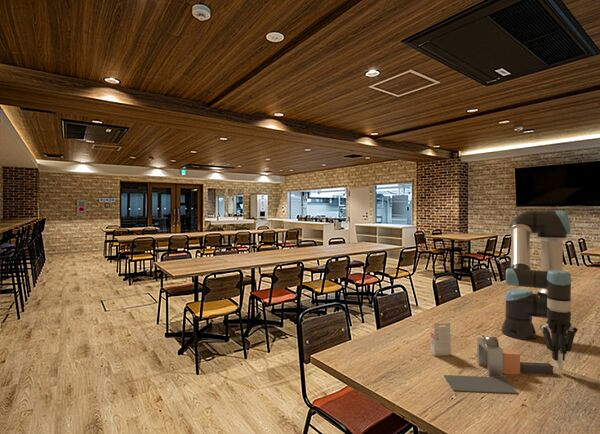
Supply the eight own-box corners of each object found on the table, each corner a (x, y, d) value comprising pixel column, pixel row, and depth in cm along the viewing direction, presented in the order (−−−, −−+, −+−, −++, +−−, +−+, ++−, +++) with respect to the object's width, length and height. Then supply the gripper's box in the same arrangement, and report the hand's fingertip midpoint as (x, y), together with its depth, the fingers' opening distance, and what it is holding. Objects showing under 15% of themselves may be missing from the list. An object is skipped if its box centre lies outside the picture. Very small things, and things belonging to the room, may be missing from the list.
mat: (502, 378, 129) (502, 377, 129) (518, 393, 118) (518, 392, 118) (443, 376, 131) (443, 375, 131) (453, 391, 121) (453, 390, 121)
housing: (489, 364, 141) (489, 332, 141) (502, 377, 130) (502, 343, 130) (477, 363, 142) (477, 332, 141) (489, 376, 131) (489, 342, 130)
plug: (547, 369, 136) (547, 350, 136) (555, 375, 131) (555, 355, 131) (498, 367, 138) (498, 348, 138) (504, 373, 133) (504, 353, 133)
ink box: (430, 352, 153) (430, 321, 152) (446, 352, 154) (446, 320, 153) (434, 356, 149) (434, 324, 149) (451, 355, 150) (451, 323, 150)
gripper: (569, 307, 136) (569, 364, 136) (535, 306, 137) (535, 363, 137) (583, 312, 128) (582, 373, 129) (547, 312, 130) (547, 372, 130)
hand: (558, 368), depth 133 cm, fingers closed
